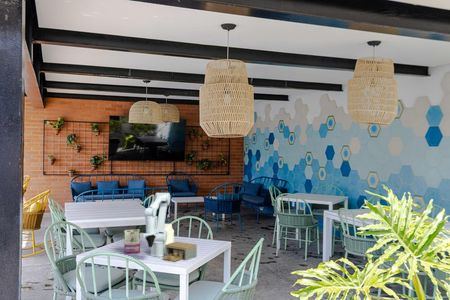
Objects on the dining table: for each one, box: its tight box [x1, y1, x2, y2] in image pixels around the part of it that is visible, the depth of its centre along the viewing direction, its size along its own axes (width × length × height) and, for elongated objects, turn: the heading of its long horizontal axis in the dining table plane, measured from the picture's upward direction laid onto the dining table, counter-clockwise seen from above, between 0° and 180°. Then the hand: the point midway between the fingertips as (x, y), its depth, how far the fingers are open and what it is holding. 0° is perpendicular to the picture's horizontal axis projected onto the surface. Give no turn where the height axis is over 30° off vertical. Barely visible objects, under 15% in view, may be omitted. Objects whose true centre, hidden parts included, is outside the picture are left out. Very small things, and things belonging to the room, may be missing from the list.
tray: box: [162, 249, 185, 263], centre depth 284 cm, size 10×14×5 cm
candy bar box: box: [123, 228, 141, 255], centre depth 301 cm, size 11×5×16 cm, turn 101°
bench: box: [165, 241, 198, 261], centre depth 289 cm, size 18×12×8 cm, turn 58°
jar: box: [164, 223, 175, 245], centre depth 331 cm, size 12×10×15 cm
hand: (150, 246), depth 276 cm, fingers closed
